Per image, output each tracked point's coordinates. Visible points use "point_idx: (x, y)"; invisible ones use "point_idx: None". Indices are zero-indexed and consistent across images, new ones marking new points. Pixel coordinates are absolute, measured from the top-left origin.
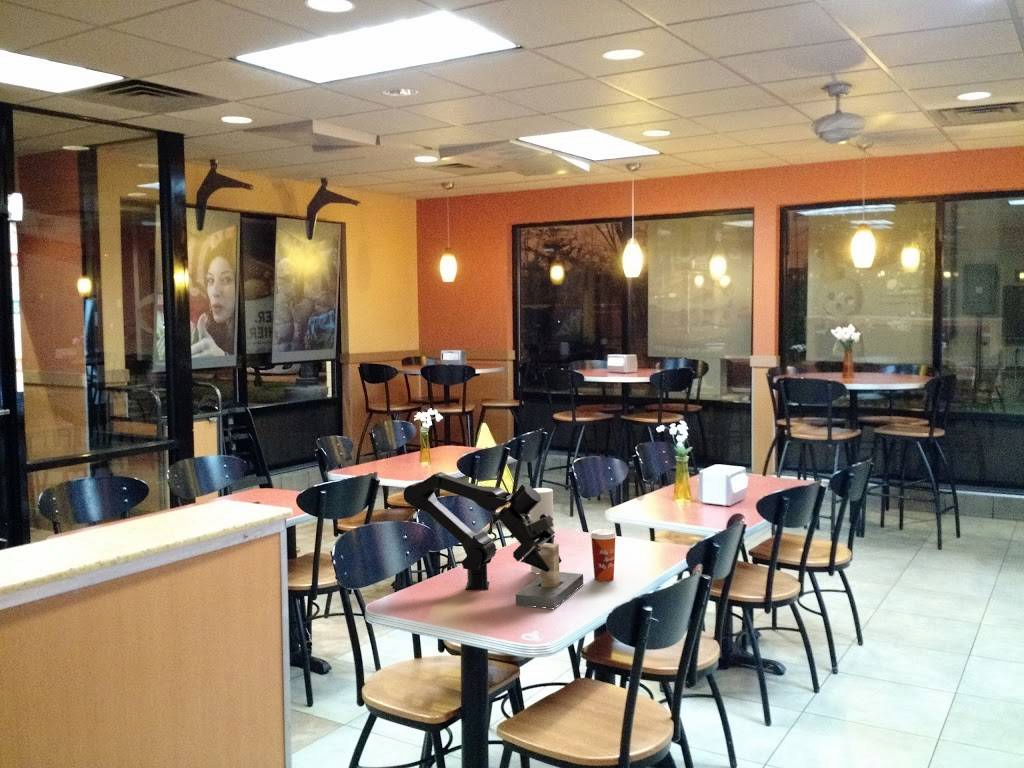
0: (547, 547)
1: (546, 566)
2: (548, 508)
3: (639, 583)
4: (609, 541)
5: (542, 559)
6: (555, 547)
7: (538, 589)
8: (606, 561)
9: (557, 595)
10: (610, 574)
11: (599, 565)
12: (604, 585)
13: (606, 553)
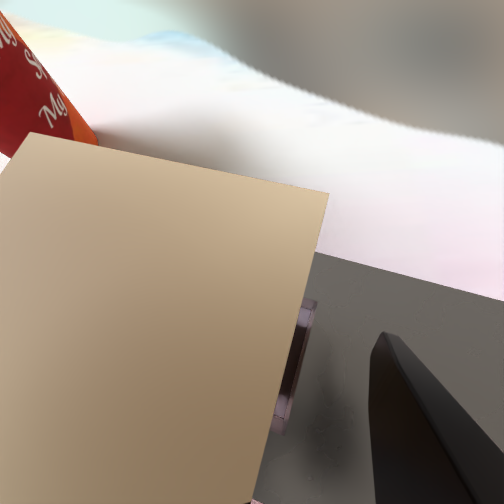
0: (278, 374)
1: (423, 369)
2: None
3: (138, 63)
4: None
5: (475, 453)
6: (211, 186)
7: (360, 418)
8: (42, 75)
9: (459, 290)
10: (80, 115)
11: (47, 116)
12: (143, 147)
13: (9, 31)
